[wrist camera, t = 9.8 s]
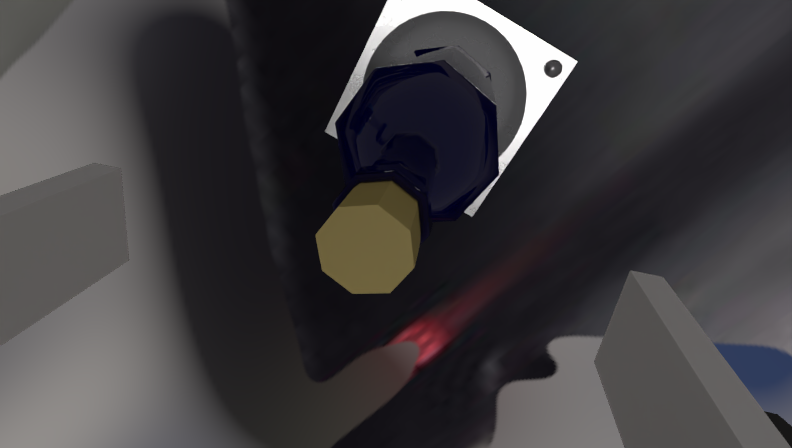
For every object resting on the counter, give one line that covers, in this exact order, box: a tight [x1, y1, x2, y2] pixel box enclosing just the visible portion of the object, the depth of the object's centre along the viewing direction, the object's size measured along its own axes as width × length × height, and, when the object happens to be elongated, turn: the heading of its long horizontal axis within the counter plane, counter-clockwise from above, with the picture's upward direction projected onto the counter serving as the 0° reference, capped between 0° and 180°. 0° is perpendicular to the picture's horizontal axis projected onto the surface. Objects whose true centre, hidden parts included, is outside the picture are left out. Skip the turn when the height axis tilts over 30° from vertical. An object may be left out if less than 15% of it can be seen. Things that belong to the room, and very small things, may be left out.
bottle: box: [315, 45, 499, 294], centre depth 27 cm, size 9×9×30 cm
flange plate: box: [325, 0, 578, 216], centre depth 41 cm, size 16×16×2 cm
